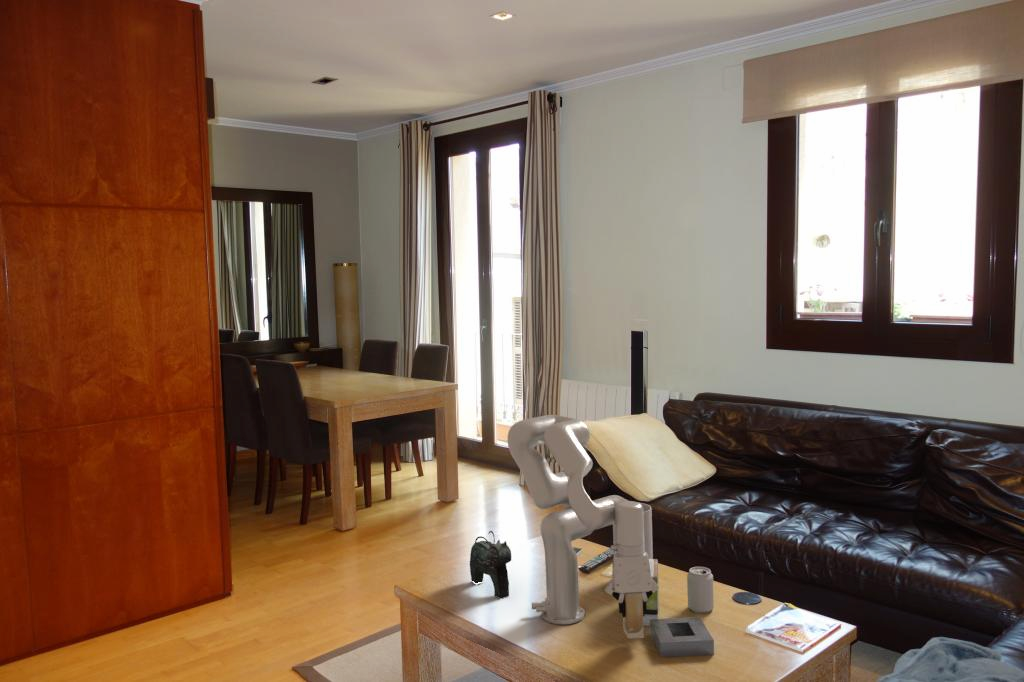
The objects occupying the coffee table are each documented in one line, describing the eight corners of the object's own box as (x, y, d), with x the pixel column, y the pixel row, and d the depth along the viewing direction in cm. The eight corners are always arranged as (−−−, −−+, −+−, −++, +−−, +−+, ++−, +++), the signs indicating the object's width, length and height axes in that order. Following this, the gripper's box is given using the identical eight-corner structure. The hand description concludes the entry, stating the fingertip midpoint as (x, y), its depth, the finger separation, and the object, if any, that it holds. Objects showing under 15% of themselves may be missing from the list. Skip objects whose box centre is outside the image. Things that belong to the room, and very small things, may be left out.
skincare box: (622, 628, 214) (621, 585, 213) (638, 627, 214) (636, 584, 214) (628, 639, 208) (626, 594, 207) (644, 638, 208) (642, 593, 207)
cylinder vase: (659, 579, 256) (657, 505, 254) (644, 593, 246) (642, 515, 244) (624, 573, 263) (622, 500, 261) (608, 586, 253) (605, 510, 251)
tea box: (659, 627, 222) (658, 576, 221) (623, 625, 224) (622, 575, 223) (659, 605, 237) (657, 557, 236) (625, 603, 239) (624, 556, 238)
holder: (660, 657, 205) (660, 642, 204) (650, 633, 219) (649, 619, 218) (714, 654, 205) (713, 640, 205) (699, 630, 219) (699, 616, 219)
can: (714, 615, 229) (713, 575, 228) (688, 613, 230) (687, 574, 229) (713, 604, 236) (712, 565, 235) (687, 603, 237) (686, 564, 237)
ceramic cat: (515, 597, 247) (512, 535, 246) (497, 602, 244) (495, 539, 242) (481, 578, 264) (479, 520, 262) (465, 583, 260) (462, 524, 258)
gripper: (600, 555, 205) (603, 622, 207) (664, 551, 206) (667, 619, 207) (597, 545, 213) (599, 610, 214) (658, 542, 213) (660, 607, 215)
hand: (632, 614), depth 211 cm, fingers closed on skincare box, 4 cm apart
